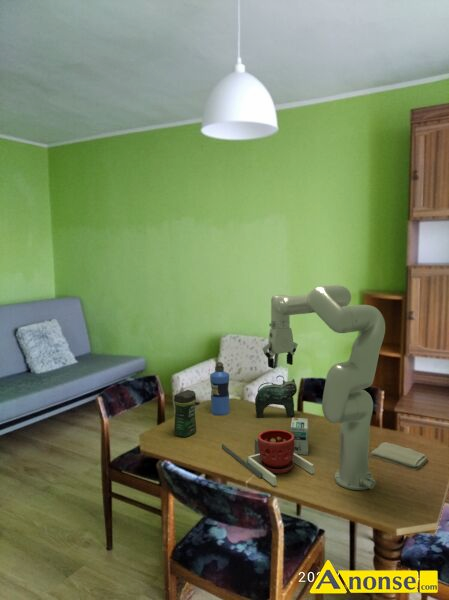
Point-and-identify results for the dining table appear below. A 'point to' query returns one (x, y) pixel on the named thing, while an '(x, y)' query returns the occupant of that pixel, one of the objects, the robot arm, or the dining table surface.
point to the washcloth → (399, 455)
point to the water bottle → (219, 391)
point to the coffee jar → (185, 413)
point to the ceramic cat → (276, 397)
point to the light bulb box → (300, 435)
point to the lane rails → (243, 461)
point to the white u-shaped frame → (266, 474)
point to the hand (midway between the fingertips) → (280, 365)
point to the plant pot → (276, 450)
